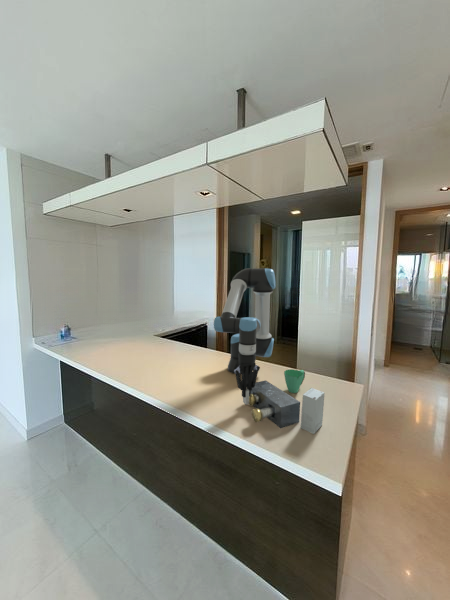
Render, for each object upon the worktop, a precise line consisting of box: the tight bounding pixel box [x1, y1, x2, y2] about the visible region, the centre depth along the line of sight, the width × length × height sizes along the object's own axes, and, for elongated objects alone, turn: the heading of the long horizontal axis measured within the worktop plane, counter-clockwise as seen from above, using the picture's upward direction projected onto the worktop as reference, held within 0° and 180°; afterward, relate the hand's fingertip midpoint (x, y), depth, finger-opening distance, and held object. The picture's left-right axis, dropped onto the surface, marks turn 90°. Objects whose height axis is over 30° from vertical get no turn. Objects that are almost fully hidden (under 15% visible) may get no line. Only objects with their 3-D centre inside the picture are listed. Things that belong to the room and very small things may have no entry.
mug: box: [283, 368, 306, 394], centre depth 140 cm, size 15×10×10 cm
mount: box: [250, 380, 301, 429], centre depth 118 cm, size 24×10×9 cm, turn 28°
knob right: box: [251, 406, 275, 423], centre depth 109 cm, size 5×12×5 cm, turn 118°
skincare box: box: [300, 387, 325, 435], centre depth 105 cm, size 8×6×15 cm
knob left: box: [248, 393, 259, 407], centre depth 122 cm, size 5×12×5 cm, turn 118°
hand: (245, 403), depth 118 cm, fingers closed
